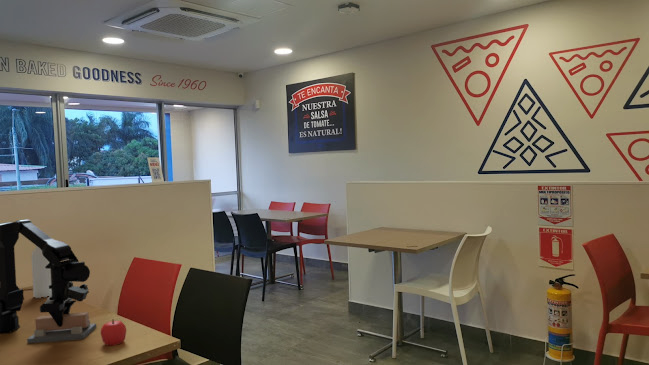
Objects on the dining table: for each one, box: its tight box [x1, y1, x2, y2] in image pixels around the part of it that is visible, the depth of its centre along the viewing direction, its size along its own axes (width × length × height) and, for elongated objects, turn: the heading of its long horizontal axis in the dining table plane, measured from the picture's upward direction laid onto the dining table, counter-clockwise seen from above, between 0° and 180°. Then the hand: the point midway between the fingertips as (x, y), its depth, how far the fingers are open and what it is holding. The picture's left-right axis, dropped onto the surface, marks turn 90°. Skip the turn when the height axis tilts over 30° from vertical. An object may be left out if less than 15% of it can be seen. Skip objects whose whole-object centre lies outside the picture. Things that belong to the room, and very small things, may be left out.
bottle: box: [31, 245, 52, 299], centre depth 220 cm, size 8×8×30 cm
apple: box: [100, 318, 127, 346], centre depth 155 cm, size 8×8×8 cm
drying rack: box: [26, 319, 97, 344], centre depth 165 cm, size 18×12×4 cm, turn 97°
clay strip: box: [34, 311, 90, 331], centre depth 165 cm, size 16×4×4 cm, turn 102°
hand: (62, 324), depth 165 cm, fingers closed on clay strip, 3 cm apart
